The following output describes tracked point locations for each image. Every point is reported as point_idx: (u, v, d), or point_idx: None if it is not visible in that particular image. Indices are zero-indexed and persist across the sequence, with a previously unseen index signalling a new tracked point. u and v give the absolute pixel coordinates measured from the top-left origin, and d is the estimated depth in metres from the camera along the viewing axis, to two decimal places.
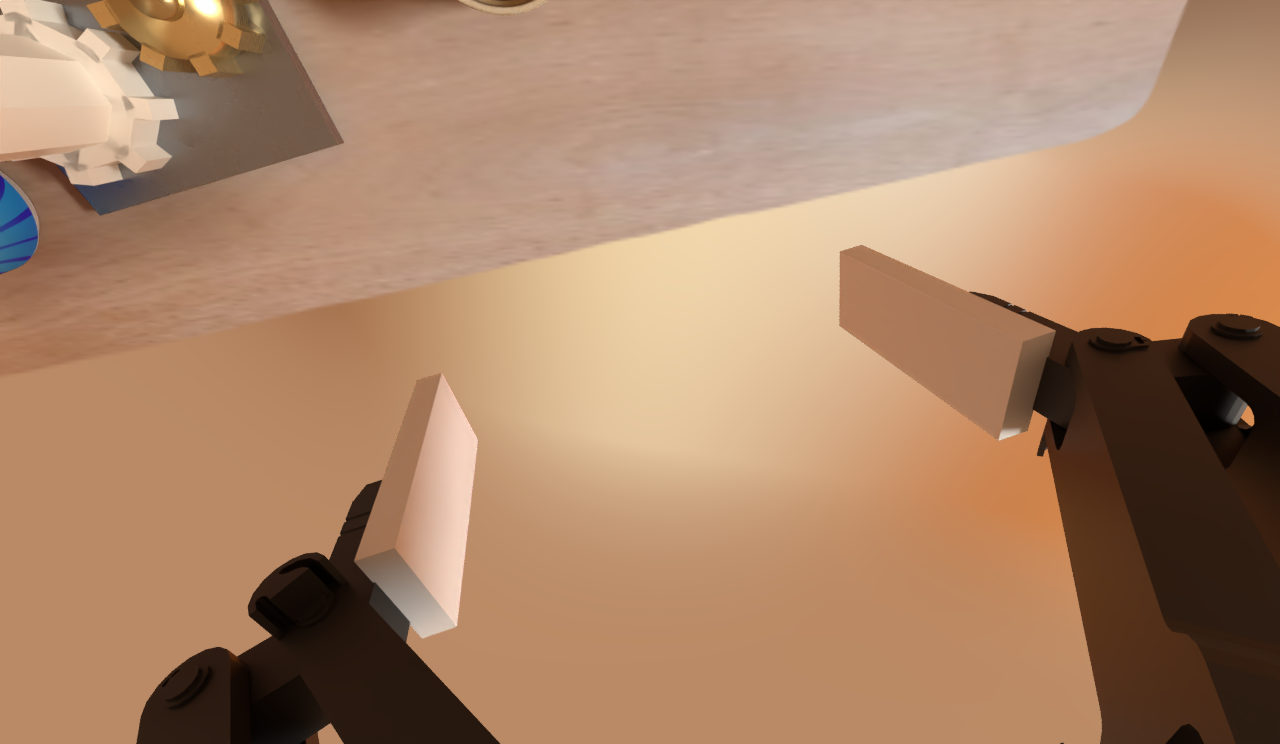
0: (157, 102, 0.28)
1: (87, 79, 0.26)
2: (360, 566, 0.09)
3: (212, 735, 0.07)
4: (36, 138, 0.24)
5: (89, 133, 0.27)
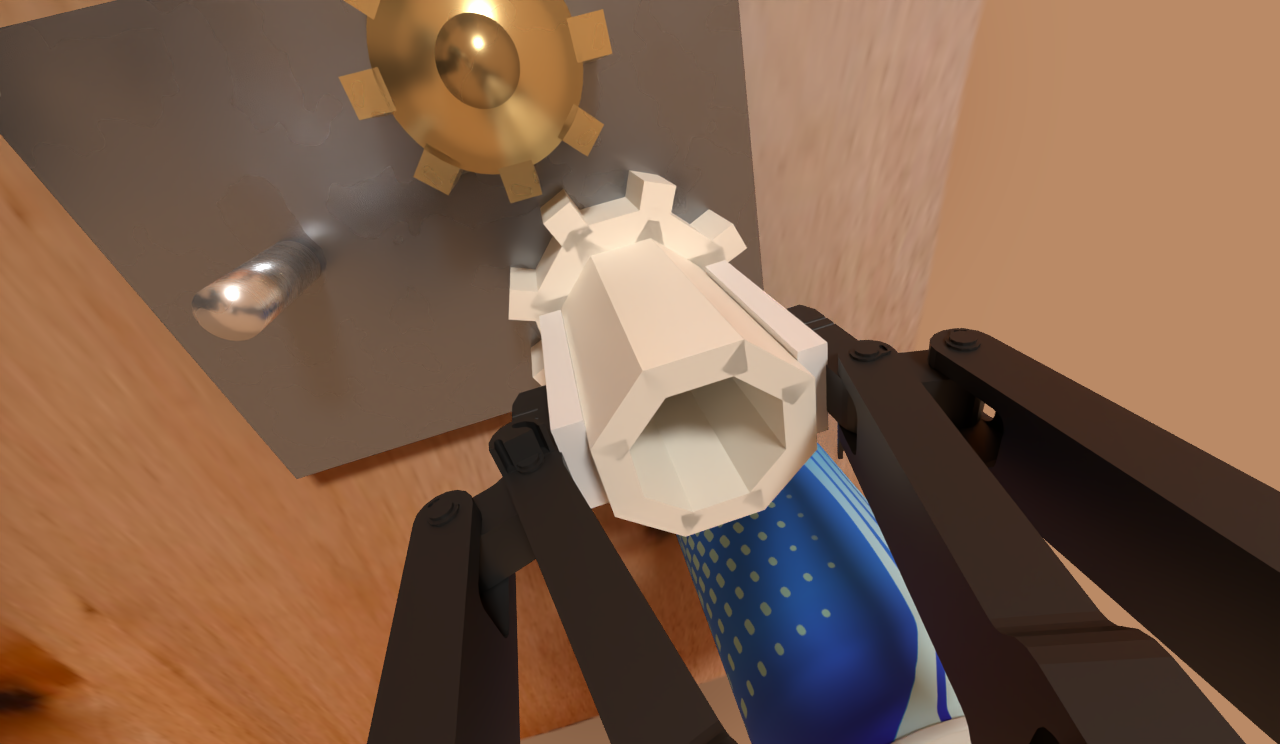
0: (644, 177, 0.16)
1: (618, 252, 0.16)
2: (554, 435, 0.11)
3: (456, 558, 0.08)
4: (740, 312, 0.13)
5: (699, 272, 0.16)
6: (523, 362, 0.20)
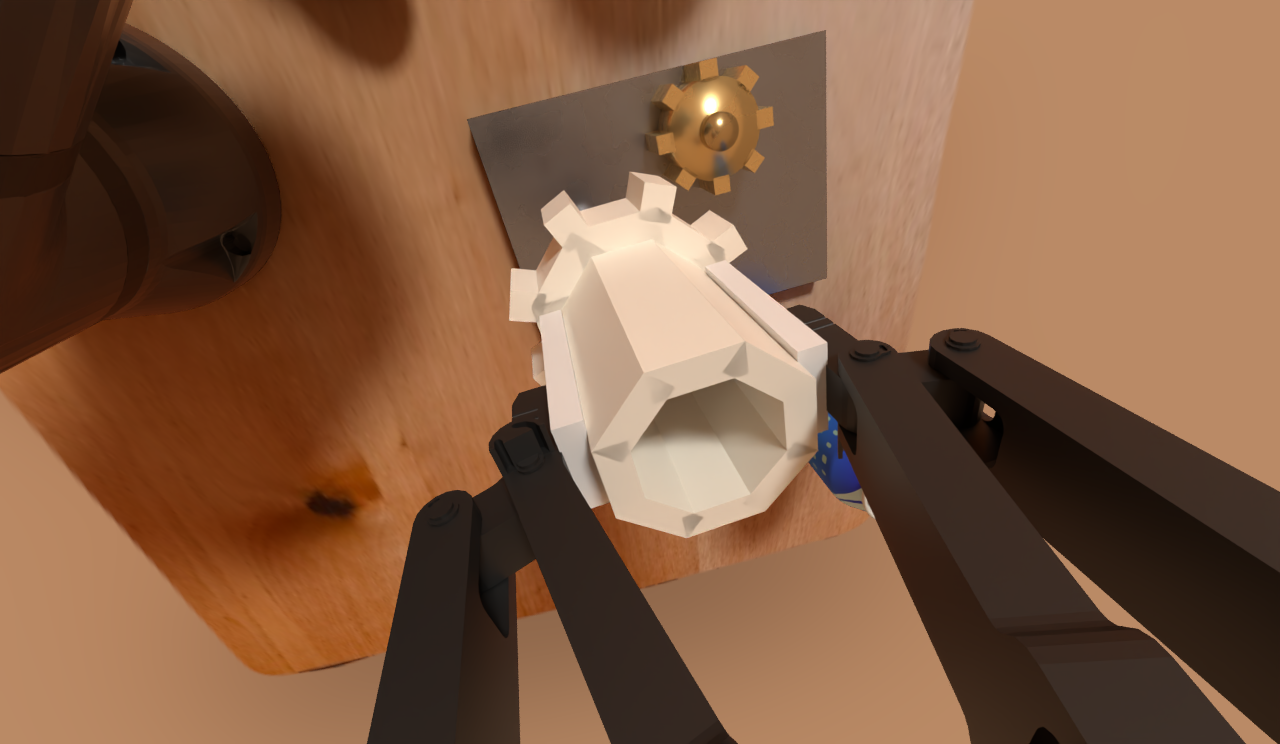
0: (644, 179, 0.16)
1: (618, 253, 0.16)
2: (554, 435, 0.11)
3: (456, 558, 0.08)
4: (741, 313, 0.13)
5: (700, 273, 0.16)
6: None
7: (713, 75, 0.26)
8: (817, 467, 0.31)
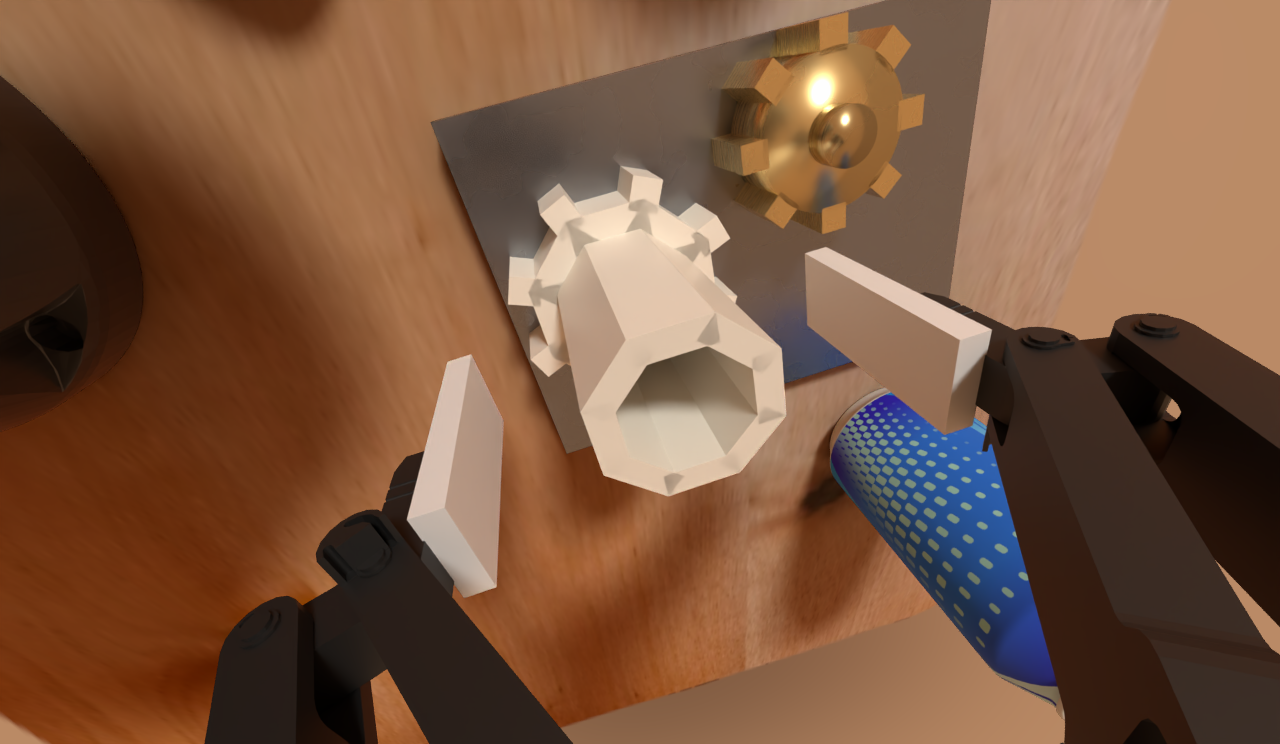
0: (633, 172, 0.17)
1: (609, 241, 0.17)
2: (412, 524, 0.09)
3: (281, 677, 0.07)
4: (719, 293, 0.14)
5: (685, 259, 0.17)
6: None
7: (839, 43, 0.16)
8: (964, 627, 0.21)
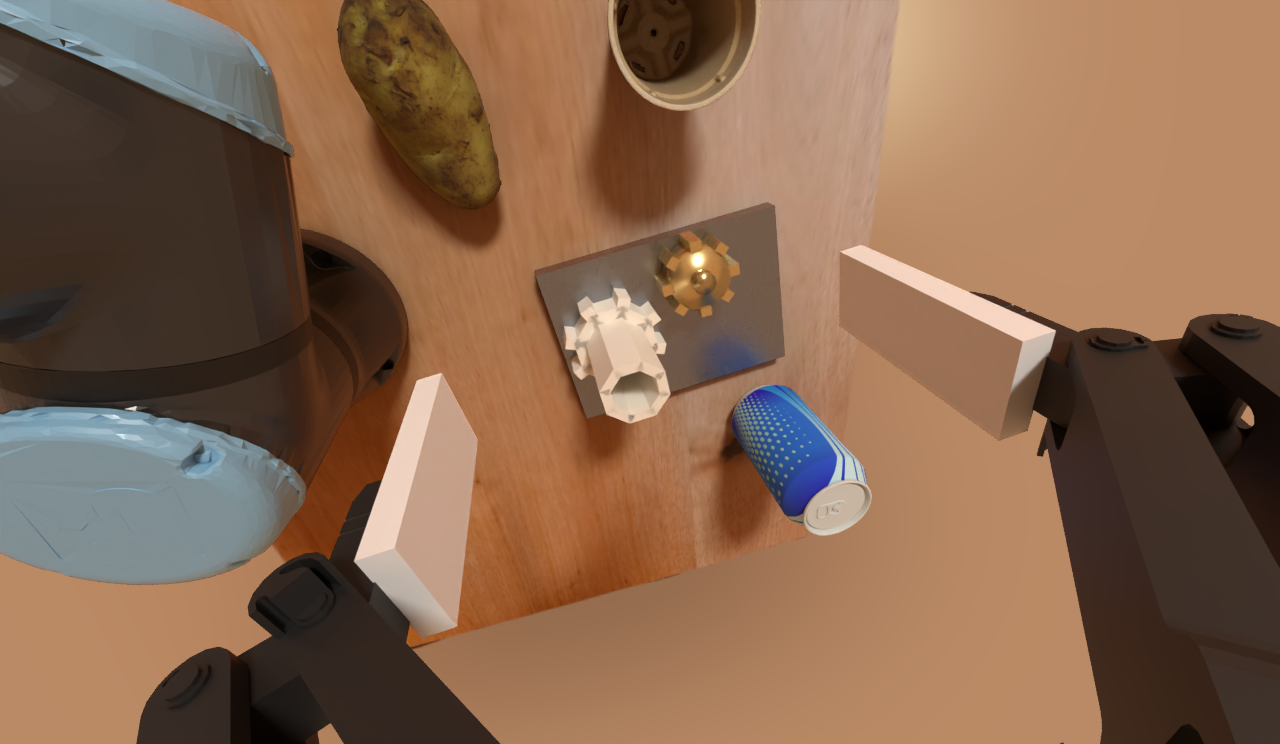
0: (618, 294, 0.42)
1: (608, 323, 0.41)
2: (360, 566, 0.09)
3: (212, 735, 0.07)
4: (649, 349, 0.38)
5: (640, 331, 0.41)
6: (683, 369, 0.49)
7: (699, 249, 0.40)
8: (775, 497, 0.46)
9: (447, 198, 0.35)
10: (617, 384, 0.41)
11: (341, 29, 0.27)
